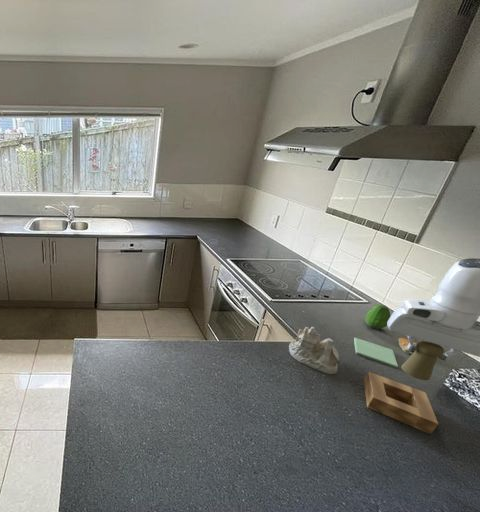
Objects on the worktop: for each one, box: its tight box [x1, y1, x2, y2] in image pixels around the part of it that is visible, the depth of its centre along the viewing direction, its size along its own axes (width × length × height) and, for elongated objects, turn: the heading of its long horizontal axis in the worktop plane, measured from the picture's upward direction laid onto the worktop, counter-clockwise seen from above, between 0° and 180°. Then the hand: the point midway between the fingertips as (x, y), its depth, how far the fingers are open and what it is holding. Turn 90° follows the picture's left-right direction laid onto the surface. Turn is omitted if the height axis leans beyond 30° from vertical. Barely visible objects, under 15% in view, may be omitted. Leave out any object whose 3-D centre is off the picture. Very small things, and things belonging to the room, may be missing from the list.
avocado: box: [365, 304, 391, 329], centre depth 128 cm, size 8×8×12 cm
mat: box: [353, 337, 399, 369], centre depth 114 cm, size 12×12×1 cm
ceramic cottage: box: [288, 326, 340, 375], centre depth 108 cm, size 16×16×15 cm
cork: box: [400, 339, 445, 381], centre depth 83 cm, size 6×6×11 cm
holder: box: [362, 370, 439, 435], centre depth 90 cm, size 14×14×4 cm
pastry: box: [398, 337, 418, 355], centre depth 117 cm, size 9×7×4 cm
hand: (426, 354), depth 82 cm, fingers closed on cork, 5 cm apart
